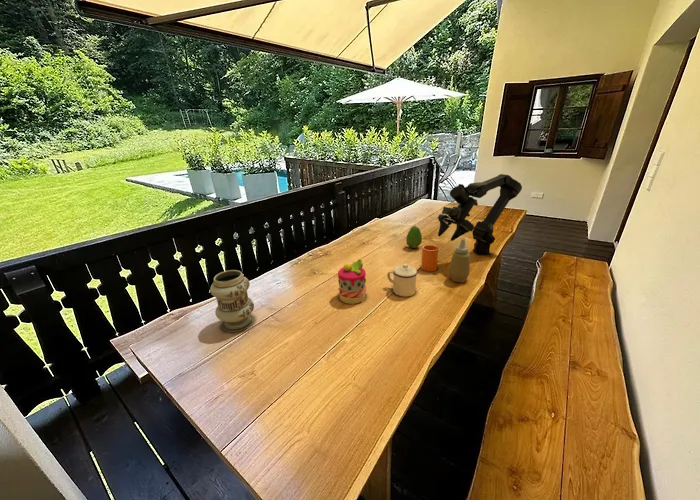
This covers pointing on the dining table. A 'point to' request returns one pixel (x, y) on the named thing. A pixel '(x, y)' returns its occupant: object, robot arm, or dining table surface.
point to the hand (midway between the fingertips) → (444, 238)
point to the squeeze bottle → (460, 263)
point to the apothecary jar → (232, 300)
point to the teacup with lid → (403, 280)
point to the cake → (352, 282)
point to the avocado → (414, 237)
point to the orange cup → (429, 257)
